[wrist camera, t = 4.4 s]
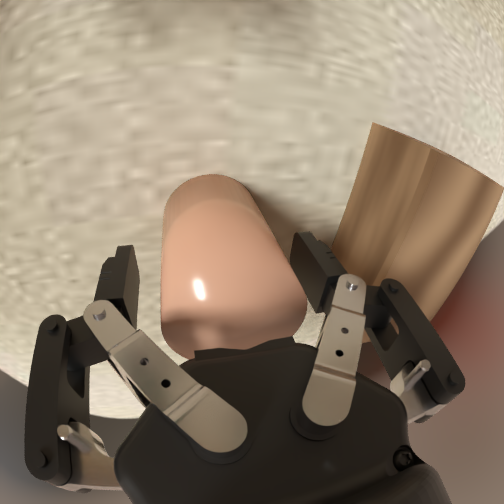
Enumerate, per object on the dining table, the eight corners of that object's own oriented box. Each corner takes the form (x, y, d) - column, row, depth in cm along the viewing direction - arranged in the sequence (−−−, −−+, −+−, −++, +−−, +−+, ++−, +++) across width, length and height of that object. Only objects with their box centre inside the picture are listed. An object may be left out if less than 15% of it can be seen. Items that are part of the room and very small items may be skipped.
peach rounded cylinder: (259, 172, 15) (321, 258, 9) (252, 252, 18) (293, 353, 12) (159, 177, 14) (148, 275, 8) (167, 259, 17) (173, 370, 11)
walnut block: (451, 155, 18) (504, 187, 13) (394, 283, 26) (427, 325, 21) (370, 121, 15) (439, 152, 10) (312, 290, 23) (343, 347, 18)
